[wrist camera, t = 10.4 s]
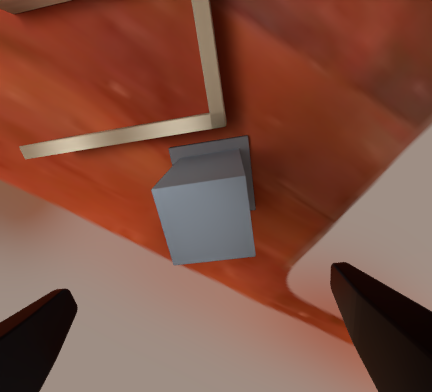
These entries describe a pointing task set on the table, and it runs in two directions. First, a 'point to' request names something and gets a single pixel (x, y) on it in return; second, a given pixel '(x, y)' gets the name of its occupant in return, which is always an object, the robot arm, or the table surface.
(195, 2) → the u-shaped bracket
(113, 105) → the table surface
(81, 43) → the table surface
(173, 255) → the slate block
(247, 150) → the felt coaster
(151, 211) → the table surface
